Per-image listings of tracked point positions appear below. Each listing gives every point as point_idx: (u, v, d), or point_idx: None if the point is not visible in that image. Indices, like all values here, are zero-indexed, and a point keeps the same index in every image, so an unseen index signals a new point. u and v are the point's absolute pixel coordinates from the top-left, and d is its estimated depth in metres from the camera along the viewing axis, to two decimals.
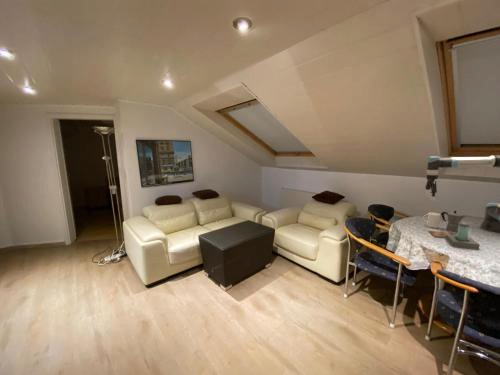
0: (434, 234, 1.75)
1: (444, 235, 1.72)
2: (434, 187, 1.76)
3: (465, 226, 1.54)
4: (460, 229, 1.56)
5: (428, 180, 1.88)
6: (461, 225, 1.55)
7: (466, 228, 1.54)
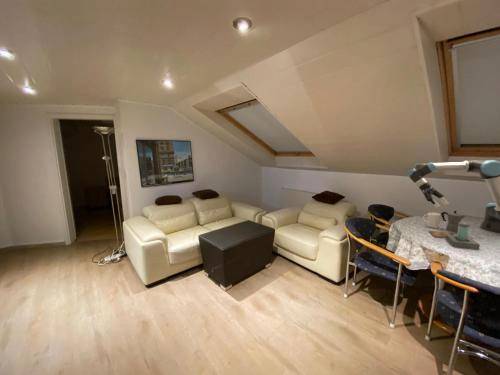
0: (434, 234, 1.75)
1: (444, 235, 1.72)
2: (426, 195, 1.69)
3: (465, 226, 1.54)
4: (460, 229, 1.56)
5: None
6: (461, 225, 1.55)
7: (466, 228, 1.54)
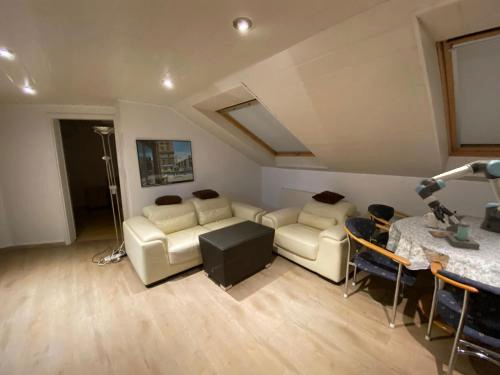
0: (434, 234, 1.75)
1: (444, 235, 1.72)
2: (435, 214, 1.63)
3: (465, 226, 1.54)
4: (460, 229, 1.56)
5: None
6: (461, 225, 1.55)
7: (466, 228, 1.54)
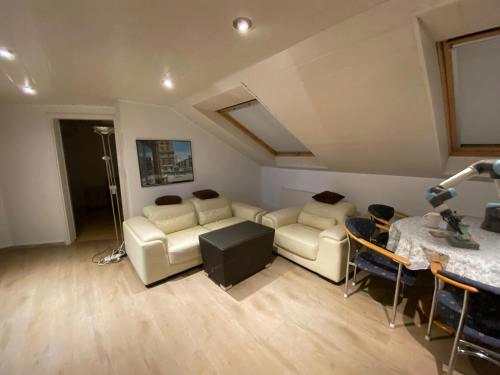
0: (434, 234, 1.75)
1: (444, 235, 1.72)
2: (451, 225, 1.58)
3: (465, 226, 1.54)
4: None
5: None
6: (461, 225, 1.55)
7: (466, 228, 1.54)
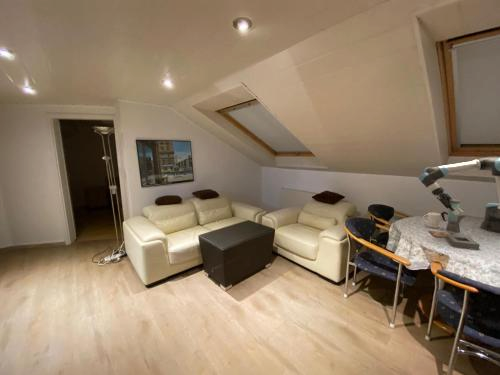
0: (434, 234, 1.75)
1: (444, 235, 1.72)
2: (443, 202, 1.64)
3: (456, 202, 1.60)
4: (451, 206, 1.63)
5: None
6: (452, 202, 1.62)
7: (457, 204, 1.60)
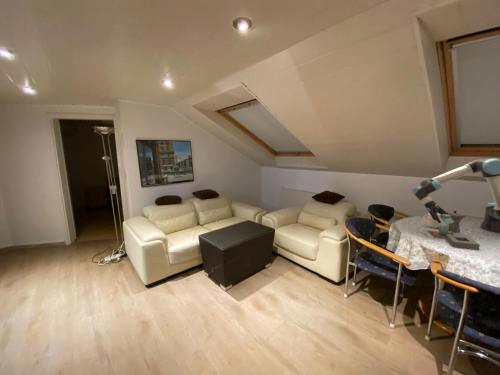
0: (434, 234, 1.75)
1: None
2: (432, 214, 1.73)
3: (446, 217, 1.69)
4: (442, 220, 1.72)
5: None
6: (442, 217, 1.71)
7: (447, 219, 1.70)
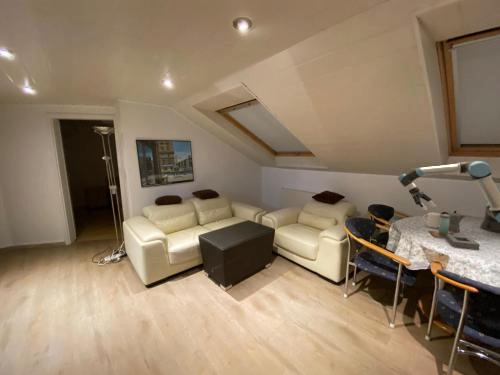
0: (434, 234, 1.75)
1: None
2: (415, 199, 1.83)
3: (446, 217, 1.69)
4: (442, 220, 1.72)
5: None
6: (442, 217, 1.71)
7: (447, 219, 1.70)
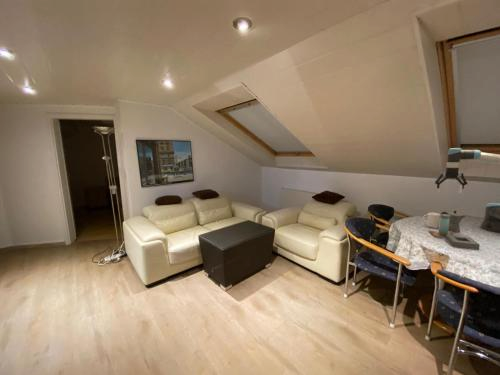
0: (434, 234, 1.75)
1: None
2: None
3: (446, 218, 1.69)
4: (442, 220, 1.72)
5: None
6: (442, 217, 1.71)
7: (447, 219, 1.69)
